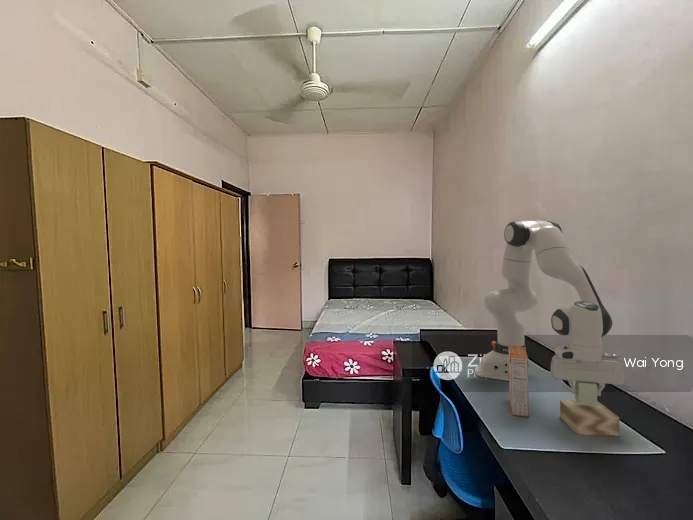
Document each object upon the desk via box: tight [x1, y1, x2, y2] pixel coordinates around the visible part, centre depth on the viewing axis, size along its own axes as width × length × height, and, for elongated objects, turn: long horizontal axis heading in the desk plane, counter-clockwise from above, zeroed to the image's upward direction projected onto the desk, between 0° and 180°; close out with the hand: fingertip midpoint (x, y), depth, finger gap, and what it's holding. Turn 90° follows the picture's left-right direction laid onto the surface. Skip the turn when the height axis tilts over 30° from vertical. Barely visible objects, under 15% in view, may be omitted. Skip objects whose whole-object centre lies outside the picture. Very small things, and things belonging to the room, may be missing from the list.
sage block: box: [574, 381, 598, 406], centre depth 122 cm, size 5×5×7 cm
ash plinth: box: [559, 399, 620, 437], centre depth 121 cm, size 12×12×6 cm
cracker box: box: [508, 346, 530, 418], centre depth 135 cm, size 14×6×21 cm, turn 159°
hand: (585, 394), depth 122 cm, fingers closed on sage block, 5 cm apart
